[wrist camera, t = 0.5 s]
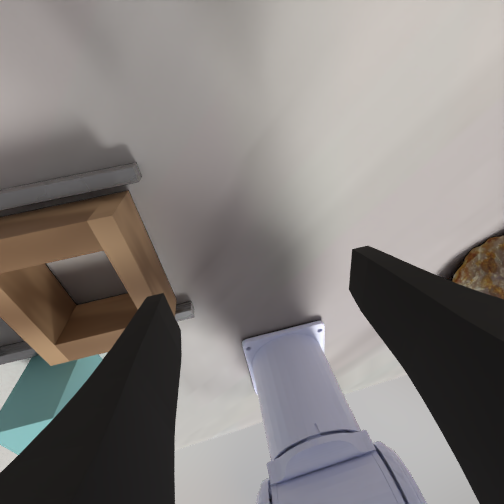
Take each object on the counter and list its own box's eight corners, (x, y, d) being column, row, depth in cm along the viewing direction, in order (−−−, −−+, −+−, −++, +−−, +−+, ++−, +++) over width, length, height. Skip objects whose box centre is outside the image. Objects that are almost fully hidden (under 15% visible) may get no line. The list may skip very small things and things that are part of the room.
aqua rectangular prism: (109, 367, 23) (85, 444, 18) (63, 378, 23) (27, 459, 18) (86, 339, 21) (52, 418, 16) (35, 351, 21) (-15, 436, 16)
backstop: (194, 308, 21) (193, 343, 18) (-17, 359, 20) (-53, 405, 17) (136, 162, 14) (121, 181, 12) (-183, 226, 13) (-287, 265, 10)
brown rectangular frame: (176, 299, 20) (173, 335, 17) (72, 324, 20) (50, 366, 17) (128, 190, 15) (112, 215, 12) (-14, 220, 15) (-66, 253, 12)
